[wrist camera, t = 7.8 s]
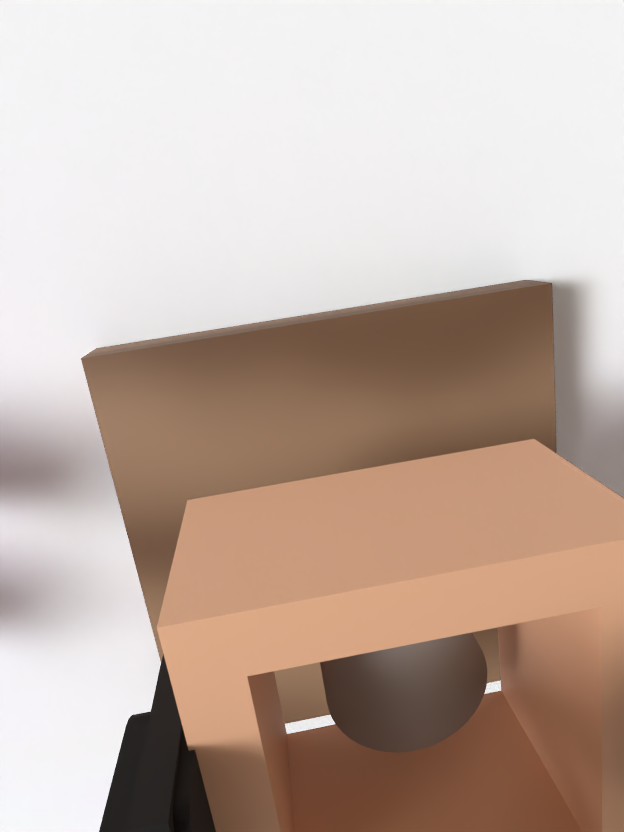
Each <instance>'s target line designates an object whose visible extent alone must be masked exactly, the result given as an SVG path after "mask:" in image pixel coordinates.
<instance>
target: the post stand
mask: <svg viewBox="0 0 624 832" xmlns="http://www.w3.org/2000/svg"><path fill="white" fill-rule="evenodd" d="M81 360H82V364H83V368H84V371H85V375H86V379H87V383H88V387H89V390H90V394H91V398H92V402H93V406H94V409H95V413H96V417H97V421H98V424H99V428H100V432H101V436H102V440H103V443H104V447H105V451H106V455H107V459H108V462H109V466H110V470H111V474H112V478H113V481H114V485H115V489H116V493H117V497H118V500H119V504H120V508H121V512H122V516H123V519H124V523H125V527H126V531H127V535H128V538H129V542H130V546H131V550H132V554H133V557H134V561H135V565H136V569H137V573H138V576H139V580H140V584H141V588H142V591H143V595H144V599H145V603H146V607H147V610H148V614H149V618H150V622H151V626H152V629H153V633H154V637H155V641H156V645H157V648H158V652H159V656H160V660H161V662H162V657H163V650H162V646H161V642H160V639H159V635H158V631H157V625H158V620H159V616H160V612H161V608H162V604H163V600H164V595H165V591H166V587H167V583H168V579H169V575H170V571H171V566H172V562H173V558H174V554H175V550H176V546H177V541H178V537H179V533H180V529H181V525H182V521H183V516H184V512H185V508H186V504H187V500H191V499H197V498H202V497H208V496H214V495H219V494H225V493H231V492H236V491H242V490H248V489H253V488H259V487H265V486H270V485H276V484H282V483H287V482H293V481H298V480H304V479H310V478H315V477H321V476H327V475H332V474H338V473H344V472H349V471H355V470H361V469H366V468H372V467H378V466H383V465H389V464H395V463H400V462H406V461H411V460H417V459H423V458H428V457H434V456H440V455H445V454H451V453H457V452H462V451H468V450H474V449H479V448H485V447H491V446H496V445H502V444H508V443H513V442H519V441H524V440H530V439H535V440H537V441H538V442H540V443H541V444H543V445H544V446H546V447H547V448H549V449H550V450H552V451H553V452H555V453H556V421H555V382H554V343H553V304H552V283H547V282H538V281H530V280H523V281H516V282H510V283H504V284H498V285H491V286H485V287H479V288H472V289H466V290H460V291H454V292H447V293H441V294H435V295H429V296H422V297H416V298H410V299H403V300H397V301H391V302H385V303H378V304H372V305H366V306H360V307H353V308H347V309H341V310H335V311H328V312H322V313H316V314H309V315H303V316H297V317H291V318H284V319H278V320H272V321H266V322H259V323H253V324H247V325H240V326H234V327H228V328H222V329H215V330H209V331H203V332H197V333H190V334H184V335H178V336H172V337H165V338H159V339H153V340H146V341H140V342H134V343H128V344H121V345H115V346H109V347H103V348H96V349H95V350H93V351H92V352H90V353H89V354H87V355H86V356H84V357H83V358H81ZM274 673H275V678H276V683H277V688H278V693H279V698H280V703H281V708H282V713H283V718H284V724H285V723H290V722H295V721H300V720H305V719H310V718H315V717H320V716H325V715H330V714H331V717H332V719H333V720H334V722H335V724H336V725H337V727H338V728H339V729H340V730H341V731H342V732H343V733H344V734H345V735H346V736H347V737H349V738H350V739H351V740H353V741H355V742H356V743H358V744H360V745H362V746H364V747H367V748H370V749H373V750H377V751H383V752H395V753H396V752H409V751H415V750H419V749H423V748H426V747H429V746H432V745H435V744H437V743H439V742H441V741H443V740H445V739H446V738H448V737H449V736H451V735H453V734H454V733H455V732H456V731H458V730H459V729H460V728H461V727H462V726H463V725H464V724H465V723H466V722H468V720H469V719H470V718H471V717H472V715H473V714H474V713H475V711H476V710H477V708H478V706H479V705H480V703H481V700H482V698H483V696H484V693H485V689H486V684H487V683H489V682H494V681H499V680H501V676H500V660H499V644H498V628H492V629H486V630H481V631H476V632H471V633H466V634H461V635H456V636H451V637H446V638H441V639H436V640H430V641H425V642H420V643H415V644H410V645H405V646H400V647H395V648H390V649H385V650H379V651H374V652H369V653H364V654H359V655H354V656H349V657H344V658H339V659H334V660H329V661H323V662H318V663H313V664H308V665H303V666H298V667H293V668H288V669H283V670H278V671H274Z"/></svg>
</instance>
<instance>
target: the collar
mask: <svg viewBox="0 0 624 832" xmlns="http://www.w3.org/2000/svg"><path fill="white" fill-rule="evenodd" d="M492 628H498V644H499V660H500V676H501V691H498V692H493V693H488V694H484V696H483V698H482V700H481V703H480V705H479V706H478V708H477V710H476V711H475V713H474V714H473V715H472V717H471V718H470V719H469V720H468V722H466V723H465V724H464V725H463V726H462V727H461V728H460V729H459V730H458V731H456V732H455V733H454V734H453V735H451V736H449V737H448V738H446V739H445V740H443V741H441V742H439V743H437V744H435V745H432V746H429V747H426V748H423V749H419V750H415V751H409V752H396V753H395V752H383V751H377V750H373V749H370V748H367V747H364V746H362V745H360V744H358V743H356V742H355V741H353V740H351V739H350V738H349V737H347V736H346V735H345V734H344V733H343V732H342V731H341V730H340V729H339V728H338V727H337V725H336V724H335V725H330V726H325V727H320V728H316V729H311V730H306V731H301V732H296V733H291V734H286V729H285V724H284V718H283V713H282V708H281V703H280V698H279V693H278V688H277V683H276V678H275V673H274V671H278V670H283V669H288V668H293V667H298V666H303V665H308V664H313V663H318V662H323V661H329V660H334V659H339V658H344V657H349V656H354V655H359V654H364V653H369V652H374V651H379V650H385V649H390V648H395V647H400V646H405V645H410V644H415V643H420V642H425V641H430V640H436V639H441V638H446V637H451V636H456V635H461V634H466V633H471V632H476V631H481V630H486V629H492ZM157 631H158V635H159V639H160V642H161V646H162V650H163V654H164V658H165V662H166V665H167V669H168V673H169V677H170V681H171V685H172V688H173V692H174V696H175V700H176V704H177V708H178V711H179V715H180V719H181V723H182V727H183V731H184V734H185V738H186V742H187V746H188V750H189V751H190V750H195V752H196V756H197V759H198V763H199V767H200V771H201V775H202V779H203V783H204V787H205V791H206V794H207V798H208V802H209V806H210V810H211V814H212V818H213V822H214V826H215V830H216V832H624V498H622V497H621V496H619V495H618V494H616V493H615V492H613V491H612V490H610V489H609V488H607V487H606V486H604V485H603V484H601V483H600V482H598V481H597V480H595V479H594V478H592V477H591V476H589V475H588V474H586V473H585V472H583V471H582V470H580V469H579V468H577V467H576V466H574V465H573V464H571V463H570V462H568V461H567V460H565V459H564V458H562V457H561V456H559V455H558V454H556V453H555V452H553V451H552V450H550V449H549V448H547V447H546V446H544V445H543V444H541V443H540V442H538V441H537V440H535V439H530V440H524V441H519V442H513V443H508V444H502V445H496V446H491V447H485V448H479V449H474V450H468V451H462V452H457V453H451V454H445V455H440V456H434V457H428V458H423V459H417V460H411V461H406V462H400V463H395V464H389V465H383V466H378V467H372V468H366V469H361V470H355V471H349V472H344V473H338V474H332V475H327V476H321V477H315V478H310V479H304V480H298V481H293V482H287V483H282V484H276V485H270V486H265V487H259V488H253V489H248V490H242V491H236V492H231V493H225V494H219V495H214V496H208V497H202V498H197V499H191V500H187V504H186V508H185V512H184V516H183V521H182V525H181V529H180V533H179V537H178V541H177V546H176V550H175V554H174V558H173V562H172V566H171V571H170V575H169V579H168V583H167V587H166V591H165V595H164V600H163V604H162V608H161V612H160V616H159V620H158V625H157Z"/></svg>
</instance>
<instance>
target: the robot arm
mask: <svg viewBox="0 0 624 832" xmlns="http://www.w3.org/2000/svg"><path fill="white" fill-rule="evenodd" d="M99 832H216V830H215V826H214V822H213V818H212V814H211V810H210V806H209V802H208V798H207V794H206V791H205V787H204V783H203V779H202V775H201V771H200V767H199V763H198V759H197V756H196V752H195V750H190V751H189V750H188V746H187V742H186V738H185V734H184V731H183V727H182V723H181V719H180V715H179V711H178V708H177V704H176V700H175V696H174V692H173V688H172V685H171V681H170V677H169V673H168V669H167V665H166V662H165V658H164V654H163V657H162V662H161V666H160V671H159V676H158V681H157V685H156V690H155V695H154V700H153V705H152V709H151V712H146V713H141V714H136V715H132V716H131V717H130V718H129V720H128V722H127V725H126V729H125V733H124V737H123V740H122V744H121V748H120V752H119V756H118V760H117V764H116V768H115V772H114V776H113V780H112V784H111V787H110V791H109V795H108V799H107V803H106V807H105V811H104V815H103V819H102V823H101V827H100V831H99Z"/></svg>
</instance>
